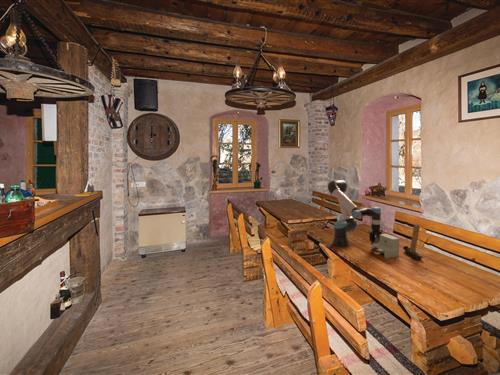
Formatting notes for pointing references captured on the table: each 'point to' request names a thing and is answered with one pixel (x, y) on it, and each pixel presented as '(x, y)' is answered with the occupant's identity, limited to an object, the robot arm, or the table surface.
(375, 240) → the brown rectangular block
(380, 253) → the chrome dome knob
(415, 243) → the hammer
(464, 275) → the table surface
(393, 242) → the plinth shelf
